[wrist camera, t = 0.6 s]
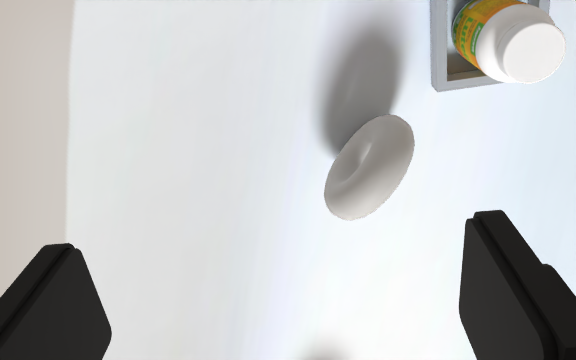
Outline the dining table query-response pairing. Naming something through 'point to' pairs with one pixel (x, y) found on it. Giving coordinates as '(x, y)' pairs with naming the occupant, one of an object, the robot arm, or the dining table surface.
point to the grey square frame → (439, 52)
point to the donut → (369, 167)
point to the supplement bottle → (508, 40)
